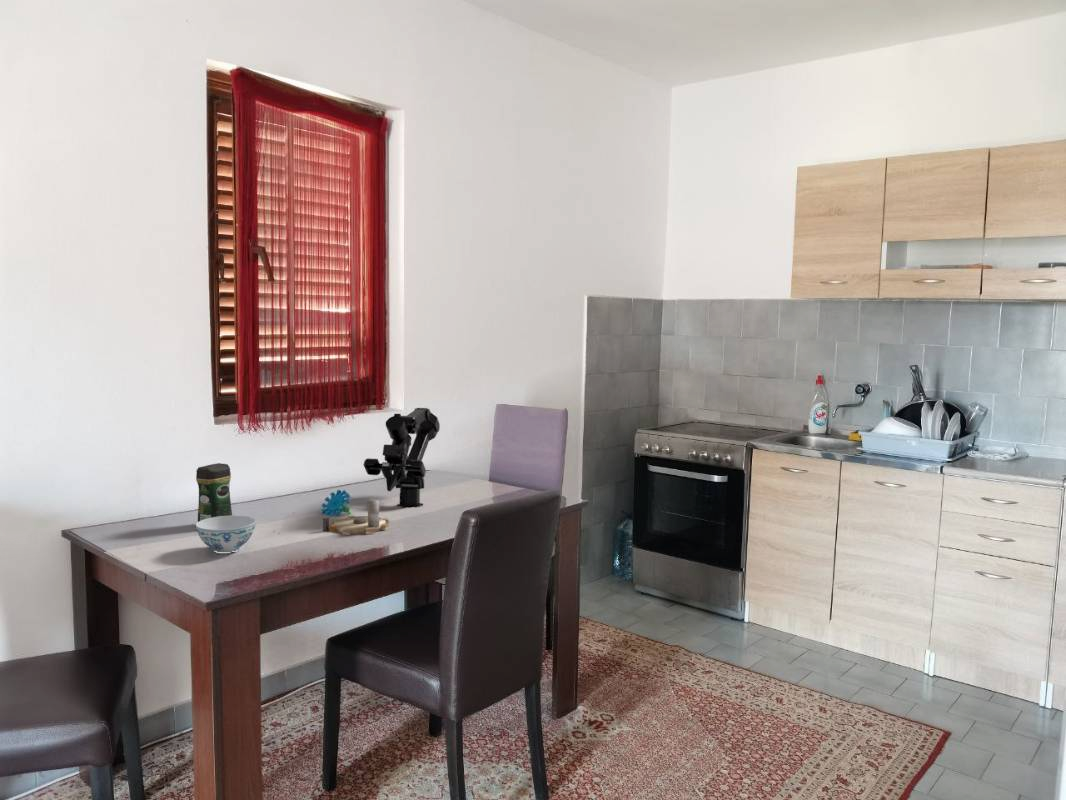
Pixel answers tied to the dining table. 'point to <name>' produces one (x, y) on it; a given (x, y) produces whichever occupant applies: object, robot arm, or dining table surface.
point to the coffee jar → (214, 491)
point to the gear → (336, 503)
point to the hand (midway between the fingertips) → (388, 490)
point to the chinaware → (226, 532)
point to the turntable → (361, 522)
